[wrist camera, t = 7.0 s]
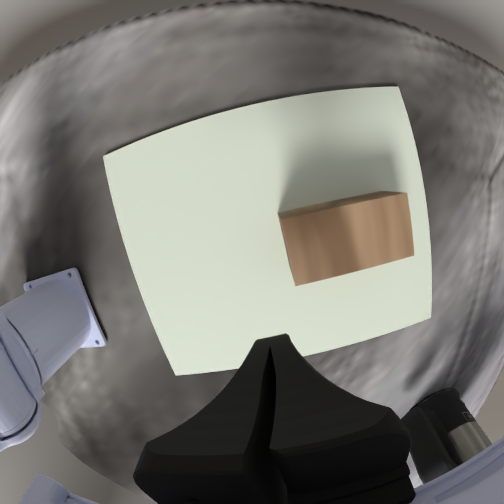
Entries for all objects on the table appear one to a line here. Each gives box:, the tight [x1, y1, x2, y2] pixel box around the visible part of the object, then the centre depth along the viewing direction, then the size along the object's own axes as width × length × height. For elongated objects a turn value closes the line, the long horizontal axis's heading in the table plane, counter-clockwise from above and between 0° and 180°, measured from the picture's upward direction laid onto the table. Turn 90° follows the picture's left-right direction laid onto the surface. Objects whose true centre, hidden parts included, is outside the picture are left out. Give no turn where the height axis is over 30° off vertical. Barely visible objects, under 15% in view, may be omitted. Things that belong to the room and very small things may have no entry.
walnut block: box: [277, 191, 414, 286], centre depth 17 cm, size 4×4×8 cm
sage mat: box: [103, 87, 432, 375], centre depth 20 cm, size 24×20×1 cm
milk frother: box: [401, 389, 492, 484], centre depth 18 cm, size 14×16×15 cm
